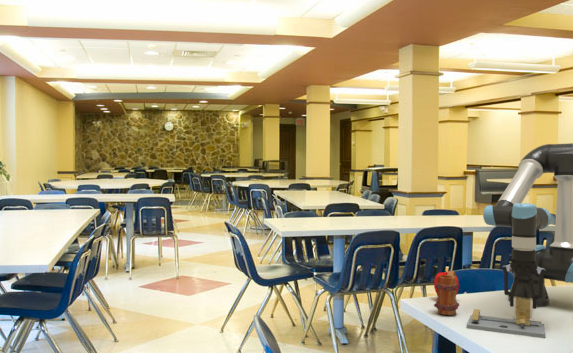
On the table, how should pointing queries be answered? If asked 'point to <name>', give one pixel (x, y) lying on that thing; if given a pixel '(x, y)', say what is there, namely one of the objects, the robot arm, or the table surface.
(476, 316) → the beam
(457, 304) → the mug
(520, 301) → the block
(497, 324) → the flange plate
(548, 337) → the table surface
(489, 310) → the table surface
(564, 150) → the robot arm
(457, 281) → the apple
